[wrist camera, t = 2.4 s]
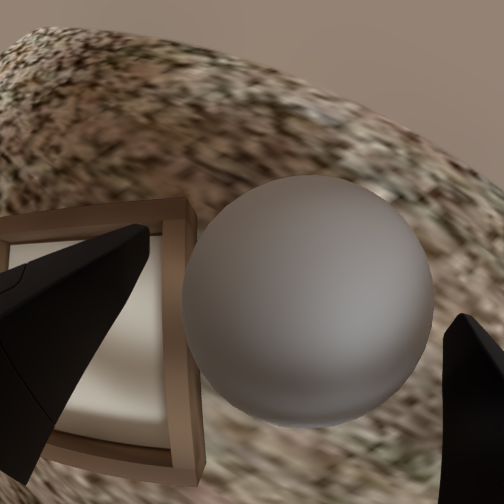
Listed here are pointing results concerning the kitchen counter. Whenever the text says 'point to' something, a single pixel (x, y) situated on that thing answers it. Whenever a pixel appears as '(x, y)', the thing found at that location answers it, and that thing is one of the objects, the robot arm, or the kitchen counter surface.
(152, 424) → the walnut tray
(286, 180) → the lightbulb
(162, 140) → the kitchen counter surface
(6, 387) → the robot arm
